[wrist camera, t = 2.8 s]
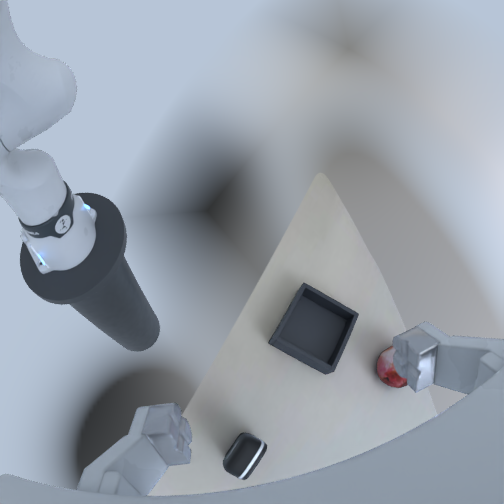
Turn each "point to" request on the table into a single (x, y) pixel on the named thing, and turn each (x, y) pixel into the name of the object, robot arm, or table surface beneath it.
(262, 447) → the battery charger
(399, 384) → the fruit
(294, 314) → the tote
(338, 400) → the table surface
